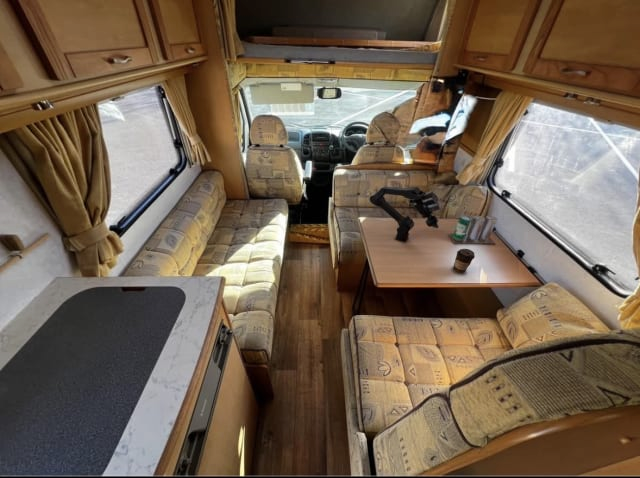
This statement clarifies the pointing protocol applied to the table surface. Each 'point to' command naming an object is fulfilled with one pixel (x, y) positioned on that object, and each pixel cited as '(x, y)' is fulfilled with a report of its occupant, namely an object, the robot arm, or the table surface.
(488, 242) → the dark grey flat slab
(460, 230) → the can
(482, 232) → the cans
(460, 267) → the coffee cup
